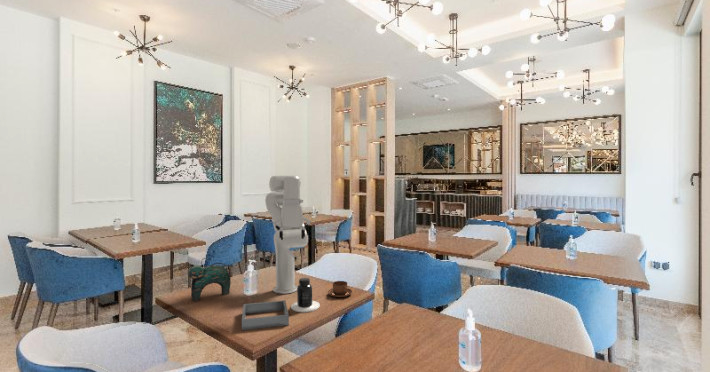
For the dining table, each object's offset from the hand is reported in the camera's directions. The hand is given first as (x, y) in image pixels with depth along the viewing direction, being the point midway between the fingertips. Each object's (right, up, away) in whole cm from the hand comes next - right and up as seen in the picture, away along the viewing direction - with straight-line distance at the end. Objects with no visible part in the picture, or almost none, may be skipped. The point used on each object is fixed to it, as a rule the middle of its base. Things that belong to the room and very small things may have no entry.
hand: (292, 239), depth 169 cm
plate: (+7, -30, -5) cm, 31 cm away
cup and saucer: (+22, -30, +12) cm, 39 cm away
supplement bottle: (+7, -30, -5) cm, 31 cm away
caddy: (-8, -31, -18) cm, 37 cm away
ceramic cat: (-43, -31, +10) cm, 53 cm away
